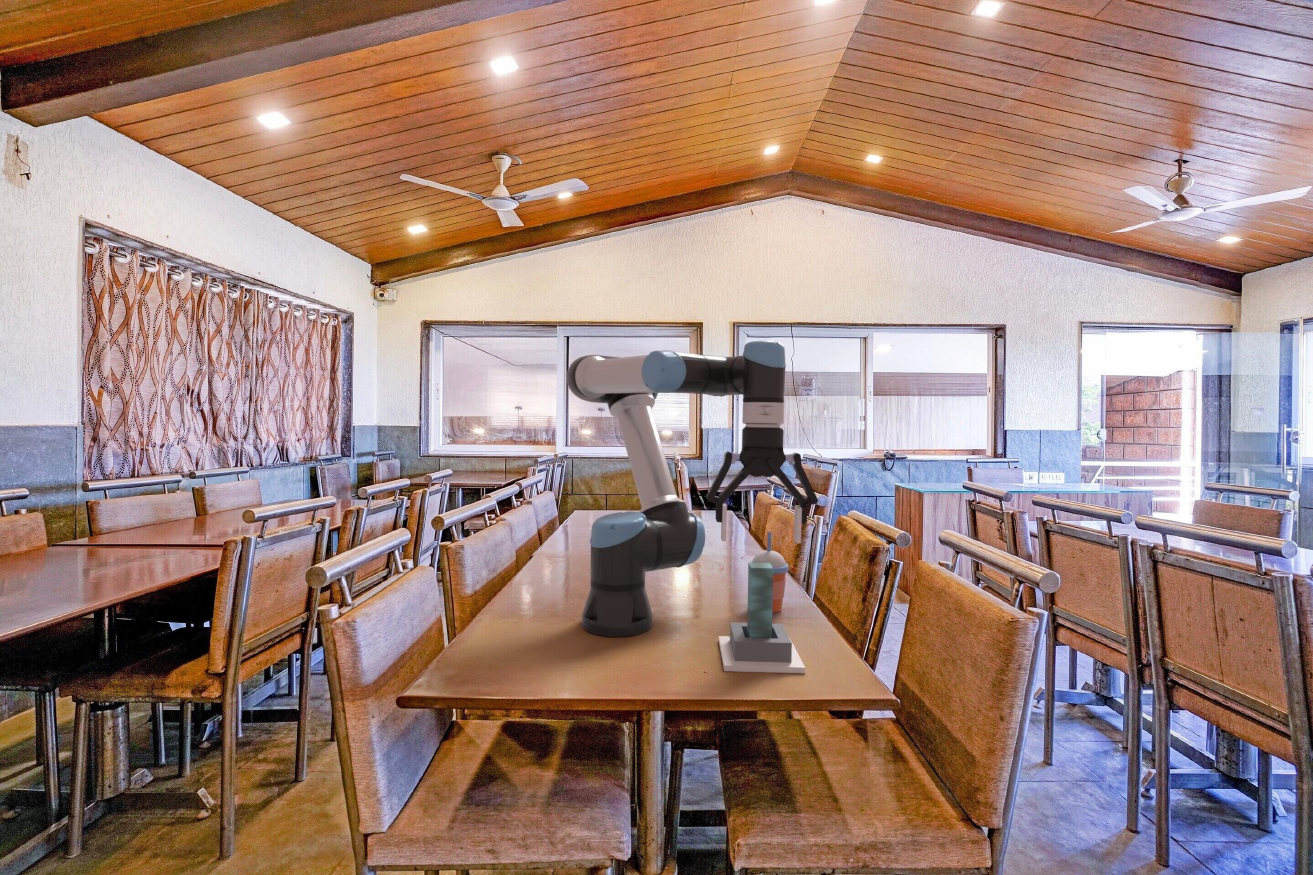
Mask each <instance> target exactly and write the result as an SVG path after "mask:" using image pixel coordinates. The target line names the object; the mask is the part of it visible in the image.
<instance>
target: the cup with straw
mask: <svg viewBox="0 0 1313 875" xmlns="http://www.w3.org/2000/svg"><path fill="white" fill-rule="evenodd" d="M766 536H767V544H766V545H767V547H766V550H765V549H764V550H761V551H759V552H758V553H757V554H755V555H754V557H753V559H752V560H751V561H749V563H770V564H771V566H772V567H773V607H772V614H776V613H779V612H781V611H782V608H783V607H782V606H783V599H784V597H785V591H786V590H785V589H786V582H787V577H786V573H788V572H789V569H790V567H789V564H788V563H787V562H786V560H785V559H784V556H783V555H781V553H779V552H777V551H775V550H772V532H770V531H768V532H767V535H766Z"/></svg>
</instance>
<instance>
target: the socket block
mask: <svg viewBox="0 0 1313 875" xmlns="http://www.w3.org/2000/svg"><path fill="white" fill-rule="evenodd" d="M718 644H719V649H720V655H721V660H722V665H723V671H724V672H743V673H744V672H745V673H747V672H748V673H773V674H774V673H778V674H780V673H781V674H782V673H784V674H806V665H805V664H804V662H803V660H802V659H801V657H800V655H799V653H798V651H797V650H796V647H795V645H794V644H793V641H792V640H791V638H790V637H789V635H788V633H787V631H786V629H785V628H784V625H783V624H782V623H773V622H772V638H747V622H733V621H730V622H729V636H728V635H724V636H723V635H719V636H718Z"/></svg>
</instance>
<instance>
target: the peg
mask: <svg viewBox="0 0 1313 875" xmlns="http://www.w3.org/2000/svg"><path fill="white" fill-rule="evenodd" d="M747 567H748V568H747V570H748V571H747V575H748V576H747V618H746V619H747V621H746V623H747V638H772V623H773V613H772V607H773V567H772V566H771V564H770V563H750V562H748V565H747Z"/></svg>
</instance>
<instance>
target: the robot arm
mask: <svg viewBox="0 0 1313 875" xmlns="http://www.w3.org/2000/svg"><path fill="white" fill-rule="evenodd" d="M785 350H786V349H785V345H784V344H782V342H779V341H775V340H774V341H772V340H756V341H754V340H753V341H749V342H746V343H745V345H744V346H743V353H742V355H737V356H736V355H735V356H720V355H719V356H718V355H708V354H699V353H697V354H696V353H695V354H694V353H687V352H679V351H678V352H677V351H673V350H665V349H664V350H653V351H651V352H649V354H644V355H643V354H642V355H635V356H634V355H632V356H624V357H623V356H622V357H621V356H620V357H619V356H609V355H608V356H606V355H599V354H589V355H584V356H580V357H578V358H576V359H575V360H574V361H572V362H571V364H570V366H568V369H567V372H566V382H567V386H568V388H569V390H570V392H572V394H573V395H574V396H576V398H578V399H580V400H583V401H584V402H589V403H594V404H595V403H596V404H597V403H599V404H607V407H608V410H609V414H610V415H611V416H612V417H614V418H615V419H617V420H618V425H619V428H620V431H621V432H620V433H621V436H622V439H623V442H624V446H625V450H626V454H627V457H628V460H629V465H630V468H631V473H632V477H633V480H634V484H635V487H636V491H637V495H638V498H639V503H640V506H641V507H640V510H639V511H624V512H623V511H621V512H619V511H618V512H614V513H613V512H612V513H609V514H605V515H603V516H600V517H598V518H597V519H595V520H594V522H593V523H592V525H591V530H590V531H591V532H590V539H589V544H590V588H589V592H588V595H587V598H586V601H585V605H584V607H583V611H582V613H581V627H582V628H583V629H584V630H585V631H586V632H587V633H588V632H589V633H591V634H592V635H593V634H594V635H598V636H604V637H629V636H635V635H639V634H643V633H645V632H647V631H649V630H651V628H652V627H653V624H654V621H653V620H654V615H653V614H654V613H653V610H652V607H651V604H650V600H649V597H648V594H647V589H646V573H647V572H653V571H658V570H666V569H672V568H682V567H684V566H688V565H691V564H694V563H695V562H697V561H698V560H699V558H700V557H701V556H702V554H703V551H704V548H705V546H706V529H705V525H704V523H703V520H702V519H701V517H700V516H698V515H697V514H696V513H693V512H689V510H688V509H689V508H688V507H687V503H686V502H687V501H684V500H683V499H682V498H679V497H678V495H677V492H676V489H675V486H674V482H673V478H672V474H671V472H670V471H671V470H670V469H669V465H668V461H667V458H666V456H665V452H664V447H663V444H662V442H661V438H660V434H659V432H658V429H657V425H656V421H655V418H654V413H653V411H652V409H653V407H654V405H655V404H656V399H657V397H658V394H660V393H661V394H695V395H707V396H713V397H721V398H722V397H726V396H737V395H738V396H739V395H741V396H742V418H741V419H742V424H743V425H744V427H742V429H741V431H742V432H741V449H740V450H741V451H740V453H738V452H737V453H735V452H730V451H726V452H725V453H724V457H723V463H722V465H721V467H720V469H719V470H718V472H717V475H716V477H715V479H714V480H713V482H712V484H711V486H710V487H709V490H708V492H707V494H706V495H705V496H706V498H705V499H706V500H707V502H709V503H713V504H714V505H715V521H716V523H721V525H720V539H721V541H722V542H727V522H728V521H727V518H728V516H727V515H728V505H727V504H726V501H727V500H728V499H729V497H730V496H731V495H732V494H733V493H734V492H735V491H736V489H737V488H738V487H739V486H740V485H741V484H742V483H743V482H744V480H746V479H747V478H748V476H751V477H754V478H760V477H766V478H772V477H773V476H775V477H777V478H776V479H778V480H779V481H780V483H781V484H783V486H784V488H786V490H788V492H789V493H790V495H791V496H792V497H793V498H794V500H796V502H797V503H798V505H794V517H793V518H794V520H793V521H794V522H793V527H794V528H793V541H794V542H795V543H797V544H801V543H802V525H807V522H808V507H809V506H812V505H814V504H815V505H817V504H818V503H819V499H818V497H817V495H816V493H815V491H814V488H813V486H812V484H811V482H810V480H809V477H808V475H807V474H806V472H805V470H804V467H803V464H802V457H801V454H800V453H798V452H793V453H789V454H788V453H787V454H785V452H784V436H785V435H784V431H785V430H784V429H783V428H782V427H781V426H782V425H784V422H785V380H786V379H785V377H786V368H787V364H786V352H785ZM738 460H739V462H740V463H741V464H742V466H743V467H742V468H741V470H739V472H738V473H737V475H736V476H735V477H733V479H732V480H731V481H730V482H729V484H727V486H726V487H724V489H723V490H722V491H721V493H719V495H718V496H716V495H717V493H718V491H719V489H720V488H721V486H722V483H723V482H724V480H725V478H726V477H727V474H728V472H729V470H730V468H731V466H732V465H734V464H735V463H736V462H737V461H738ZM786 461H787V462H788V464H789V465H790V466H792V467H793V470H794V472H795V475H796V476H797V478H798V481H799V483H800V485H801V486H802V489H803V491H804V493H805V496H806V497H804V496H803V494H802V493H801V492H800V491H799V490H798V489H797V487H796V486H795V485H794V483H792V481H791V480H790V479H789V477H788V476H787V475H786V473H785V472H784V470H782V469H781V468H782V466H783V465H784V464H785V462H786Z"/></svg>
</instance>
